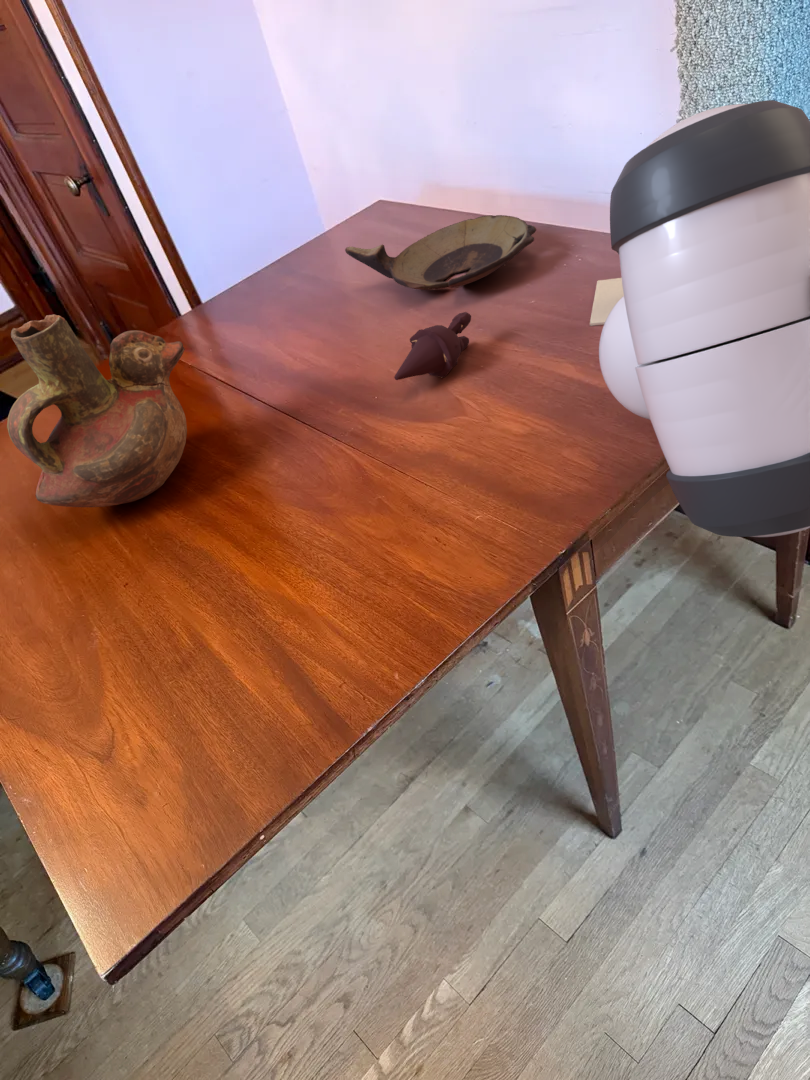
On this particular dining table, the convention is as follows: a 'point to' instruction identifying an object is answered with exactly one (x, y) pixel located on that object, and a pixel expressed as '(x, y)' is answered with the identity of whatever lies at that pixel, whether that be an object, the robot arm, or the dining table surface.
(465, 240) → the olive ceramic shallow bowl
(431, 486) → the dining table surface
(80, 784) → the dining table surface
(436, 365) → the maroon pointed figurine
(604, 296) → the beige rectangular board
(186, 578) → the dining table surface
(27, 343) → the ceramic vessel
